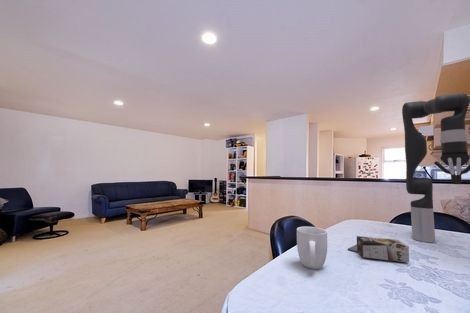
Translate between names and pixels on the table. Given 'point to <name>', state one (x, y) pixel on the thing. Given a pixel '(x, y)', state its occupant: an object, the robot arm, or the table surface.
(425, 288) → the table surface
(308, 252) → the mug
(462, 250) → the table surface
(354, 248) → the mat
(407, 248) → the coffee box
